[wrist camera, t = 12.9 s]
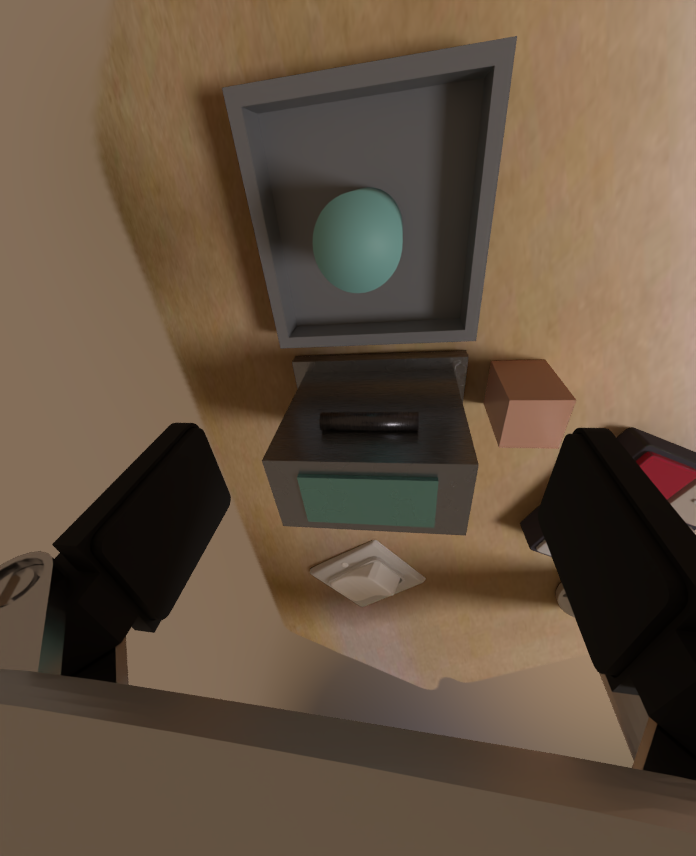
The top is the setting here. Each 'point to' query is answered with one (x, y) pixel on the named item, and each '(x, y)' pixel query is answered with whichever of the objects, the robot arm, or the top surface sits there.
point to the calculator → (665, 466)
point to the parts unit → (376, 444)
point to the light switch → (367, 574)
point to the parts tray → (379, 168)
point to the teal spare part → (359, 240)
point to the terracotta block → (527, 404)
